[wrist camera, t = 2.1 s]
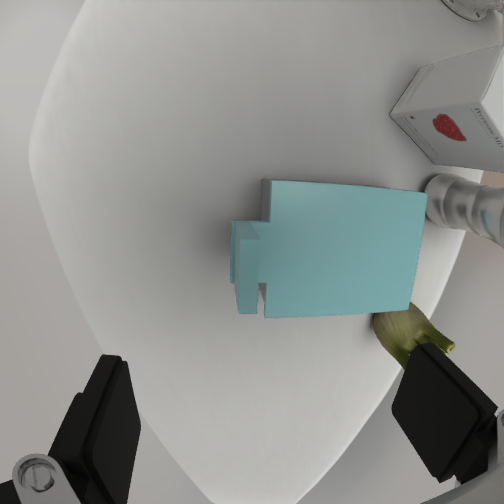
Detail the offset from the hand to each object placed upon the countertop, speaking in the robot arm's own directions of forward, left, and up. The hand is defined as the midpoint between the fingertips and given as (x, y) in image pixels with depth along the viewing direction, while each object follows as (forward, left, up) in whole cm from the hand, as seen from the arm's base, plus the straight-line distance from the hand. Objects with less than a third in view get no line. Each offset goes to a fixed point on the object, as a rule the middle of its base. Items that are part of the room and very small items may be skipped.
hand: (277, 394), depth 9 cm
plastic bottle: (-25, -5, -25) cm, 35 cm away
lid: (-8, 0, -18) cm, 20 cm away
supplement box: (-23, -15, -25) cm, 37 cm away
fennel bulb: (-20, +10, -25) cm, 33 cm away
